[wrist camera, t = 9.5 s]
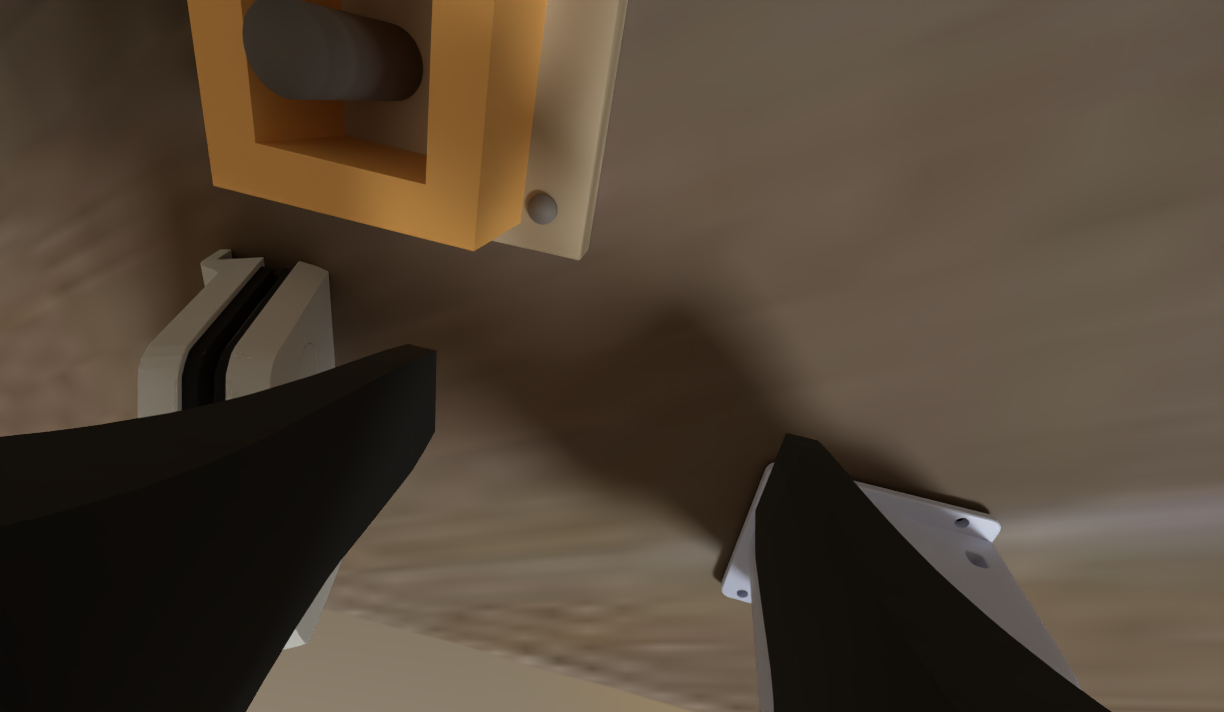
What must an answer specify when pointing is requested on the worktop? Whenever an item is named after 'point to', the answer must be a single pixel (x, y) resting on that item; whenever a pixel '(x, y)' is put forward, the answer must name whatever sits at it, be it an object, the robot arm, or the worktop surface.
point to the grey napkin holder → (242, 349)
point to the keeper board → (399, 92)
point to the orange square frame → (374, 173)
